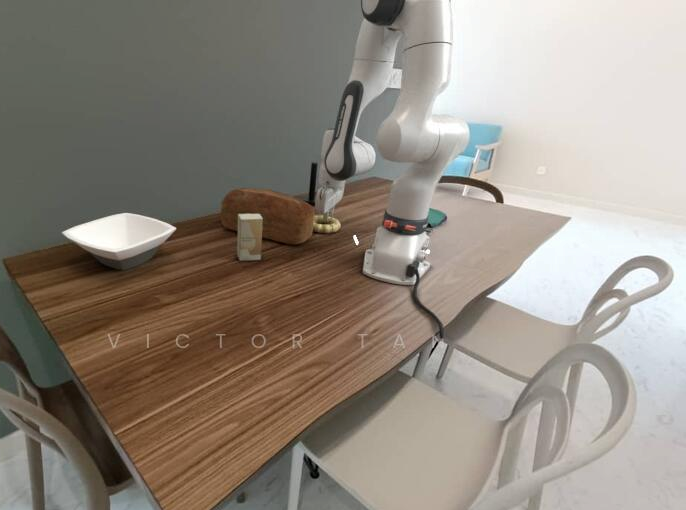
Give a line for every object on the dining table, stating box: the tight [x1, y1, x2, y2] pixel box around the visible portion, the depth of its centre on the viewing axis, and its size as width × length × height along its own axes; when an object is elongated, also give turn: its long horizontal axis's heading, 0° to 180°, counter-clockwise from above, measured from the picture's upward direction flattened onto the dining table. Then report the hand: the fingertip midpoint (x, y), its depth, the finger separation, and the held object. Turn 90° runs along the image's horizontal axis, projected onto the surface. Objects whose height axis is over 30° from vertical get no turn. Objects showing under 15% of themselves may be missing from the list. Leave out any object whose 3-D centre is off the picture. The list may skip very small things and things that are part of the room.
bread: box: [220, 187, 316, 246], centre depth 124 cm, size 12×31×14 cm, turn 65°
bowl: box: [61, 212, 177, 271], centre depth 104 cm, size 22×23×8 cm
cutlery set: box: [425, 207, 448, 237], centre depth 146 cm, size 20×30×2 cm, turn 149°
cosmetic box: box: [236, 214, 263, 262], centre depth 108 cm, size 6×4×12 cm
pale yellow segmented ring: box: [313, 214, 342, 234], centre depth 134 cm, size 12×12×3 cm
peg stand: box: [299, 161, 318, 207], centre depth 156 cm, size 9×9×16 cm
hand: (327, 219), depth 138 cm, fingers closed on pale yellow segmented ring, 3 cm apart
